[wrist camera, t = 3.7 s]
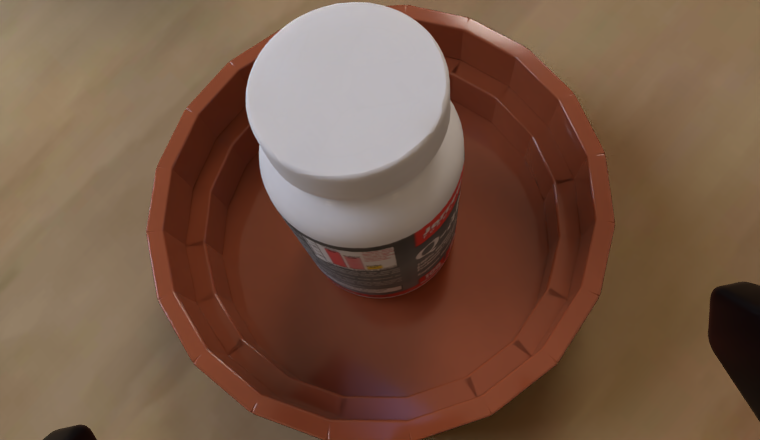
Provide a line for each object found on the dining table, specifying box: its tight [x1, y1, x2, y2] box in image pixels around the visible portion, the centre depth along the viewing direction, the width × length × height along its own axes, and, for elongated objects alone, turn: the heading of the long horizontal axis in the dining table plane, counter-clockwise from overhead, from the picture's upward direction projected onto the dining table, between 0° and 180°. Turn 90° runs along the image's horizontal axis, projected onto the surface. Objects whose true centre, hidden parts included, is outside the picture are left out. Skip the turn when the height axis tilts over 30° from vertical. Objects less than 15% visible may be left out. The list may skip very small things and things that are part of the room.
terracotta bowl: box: [146, 5, 615, 440], centre depth 20 cm, size 15×15×4 cm
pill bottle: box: [246, 2, 465, 298], centre depth 17 cm, size 6×6×10 cm
